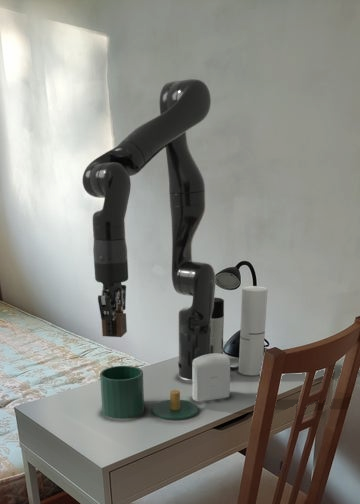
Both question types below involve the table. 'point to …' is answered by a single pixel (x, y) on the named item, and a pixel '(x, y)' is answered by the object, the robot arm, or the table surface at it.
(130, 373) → the tin
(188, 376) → the robot arm
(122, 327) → the block
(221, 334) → the spray can
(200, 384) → the photo printer
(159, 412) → the lid
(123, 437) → the table surface
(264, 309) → the cylindrical container
